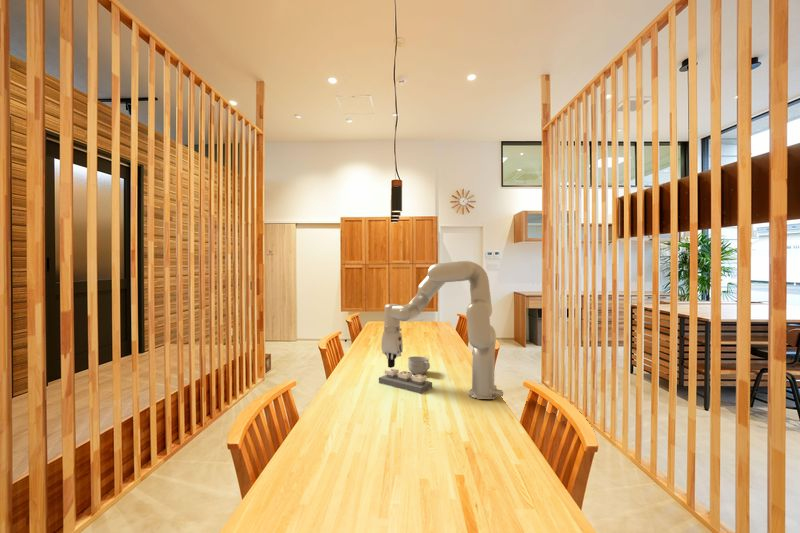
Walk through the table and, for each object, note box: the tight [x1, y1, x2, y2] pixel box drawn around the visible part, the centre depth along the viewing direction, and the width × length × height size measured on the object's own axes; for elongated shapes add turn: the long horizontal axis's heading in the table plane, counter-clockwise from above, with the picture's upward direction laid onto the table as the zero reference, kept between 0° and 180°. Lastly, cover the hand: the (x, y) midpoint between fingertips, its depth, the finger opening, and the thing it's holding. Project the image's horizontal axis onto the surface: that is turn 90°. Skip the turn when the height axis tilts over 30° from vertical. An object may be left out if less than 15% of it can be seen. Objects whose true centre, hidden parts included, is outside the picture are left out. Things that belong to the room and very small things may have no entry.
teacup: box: [407, 355, 431, 375], centre depth 192 cm, size 14×11×8 cm
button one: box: [384, 367, 400, 379], centre depth 179 cm, size 5×5×4 cm
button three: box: [398, 370, 413, 382], centre depth 175 cm, size 5×5×4 cm
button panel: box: [378, 374, 433, 395], centre depth 175 cm, size 24×10×2 cm, turn 54°
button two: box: [412, 374, 428, 385], centre depth 170 cm, size 5×5×4 cm
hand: (391, 366), depth 179 cm, fingers closed
